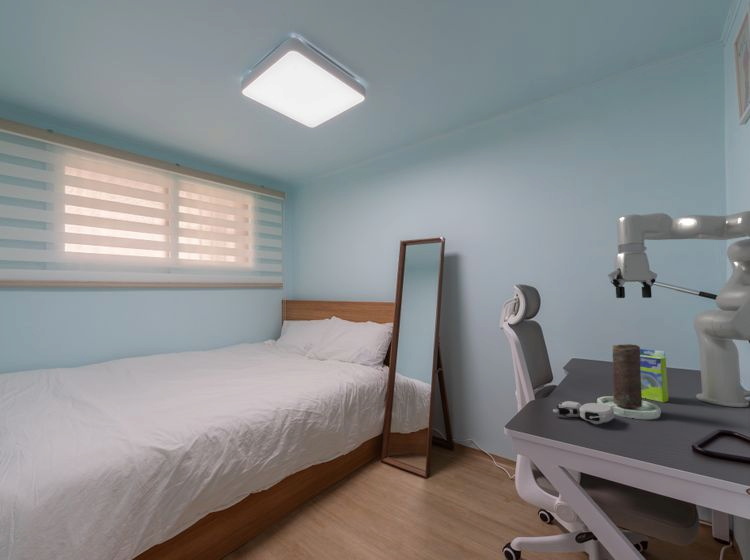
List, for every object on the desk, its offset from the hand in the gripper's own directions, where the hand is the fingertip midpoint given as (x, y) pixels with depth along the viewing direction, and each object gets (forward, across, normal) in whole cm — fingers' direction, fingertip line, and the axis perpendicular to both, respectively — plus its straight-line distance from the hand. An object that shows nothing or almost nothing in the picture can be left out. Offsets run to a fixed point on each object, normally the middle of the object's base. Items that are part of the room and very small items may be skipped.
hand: (633, 297), depth 118 cm
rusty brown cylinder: (+36, +11, +8) cm, 38 cm away
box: (+36, -7, -4) cm, 37 cm away
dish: (+36, +11, +8) cm, 39 cm away
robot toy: (+37, +29, +14) cm, 49 cm away
